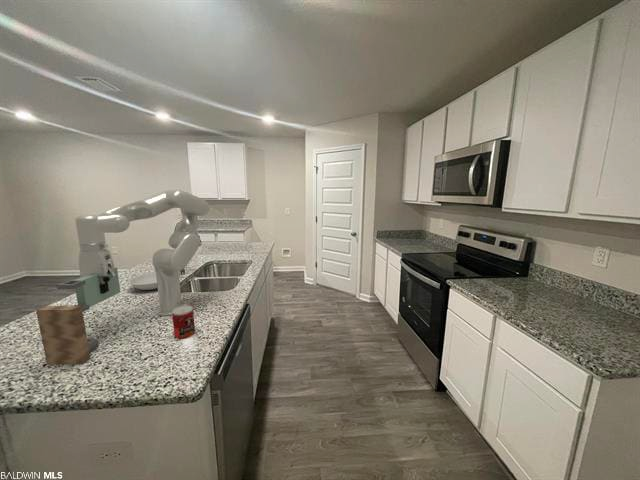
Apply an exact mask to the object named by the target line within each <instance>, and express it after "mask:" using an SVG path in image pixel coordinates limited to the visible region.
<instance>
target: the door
mask: <svg viewBox="0 0 640 480" xmlns="http://www.w3.org/2000/svg"><path fill="white" fill-rule="evenodd" d="M114 269H115V272H114V273H115V275H116V276H115V277H113V278H111V279H110V280H109V282H108V287H109V291H108V292H106V293H104V294H101V291H100V284H101V282H100V278H99V277H98V276H97V275H87V276H85V277H82V278H81V277H79V278H76V279H72V280H67V281H65V282H62V283H59V284H56V289H57V290H74V289H75V295H76V296H75V297H76V301H77V304H75V305H73V306H82V311H83V313H84V312H86V311H88V310H89V309H91V308H92V307H94V306H96V305H97V304H99V303H102V302H104V301H106V300H108V299H110V298H111V297H114V296H116V295H118V294H120V293H121V286H120V281H119V273H118V272H119V271H118V267H114ZM108 276H109V274H108ZM104 279H105V278H104Z"/></svg>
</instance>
